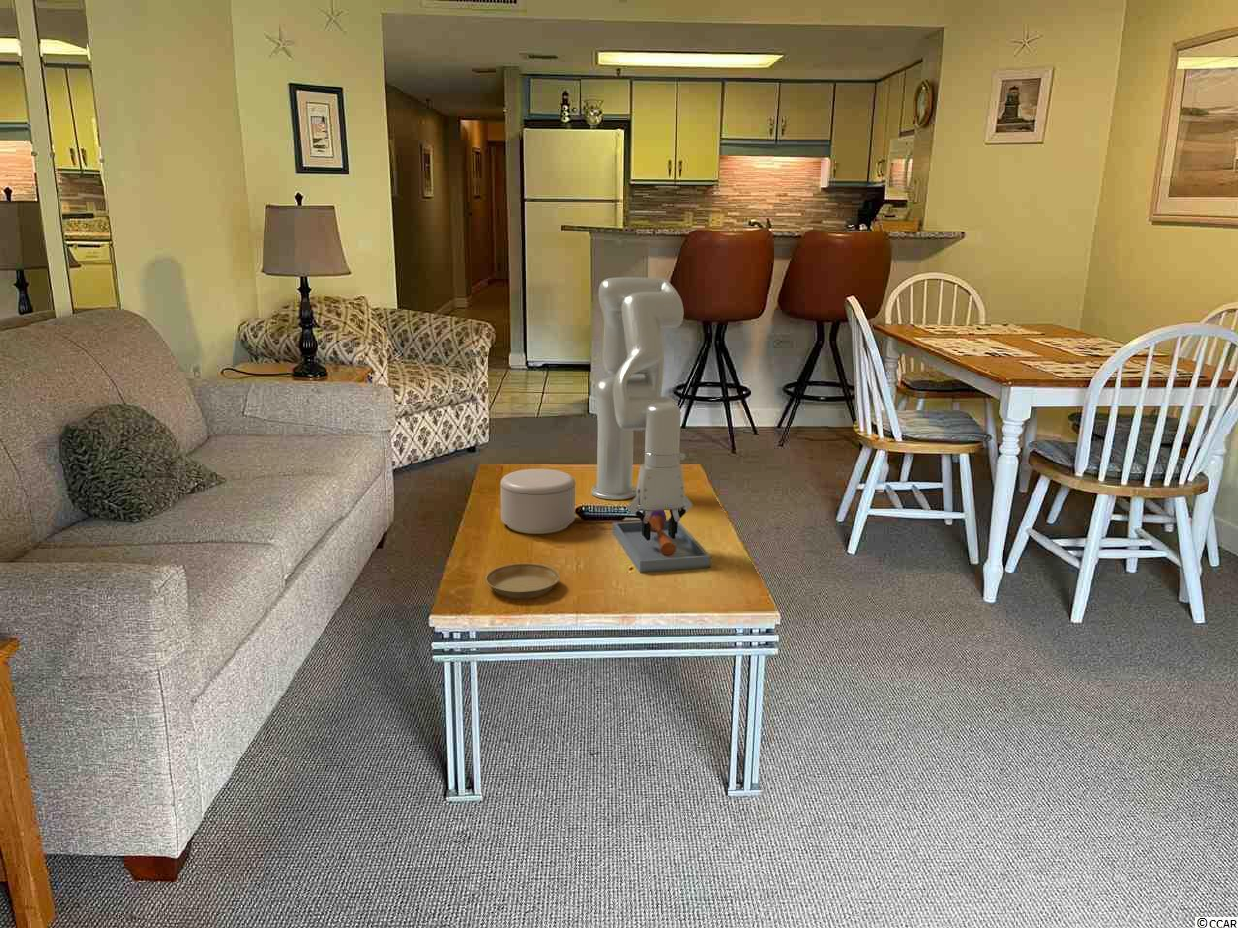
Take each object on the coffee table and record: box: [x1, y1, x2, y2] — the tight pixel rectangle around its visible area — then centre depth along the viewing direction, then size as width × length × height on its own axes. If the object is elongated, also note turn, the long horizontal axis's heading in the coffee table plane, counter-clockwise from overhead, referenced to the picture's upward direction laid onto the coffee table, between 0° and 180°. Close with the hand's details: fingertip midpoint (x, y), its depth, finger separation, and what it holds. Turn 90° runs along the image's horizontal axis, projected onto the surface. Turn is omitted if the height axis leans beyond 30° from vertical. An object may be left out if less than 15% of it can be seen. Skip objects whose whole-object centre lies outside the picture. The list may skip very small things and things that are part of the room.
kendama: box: [640, 510, 676, 557], centre depth 207 cm, size 6×6×20 cm
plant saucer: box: [485, 563, 561, 600], centre depth 186 cm, size 15×15×3 cm
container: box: [499, 468, 576, 535], centre depth 223 cm, size 18×18×12 cm
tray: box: [611, 518, 712, 574], centre depth 208 cm, size 26×16×3 cm, turn 13°
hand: (659, 536), depth 208 cm, fingers closed on kendama, 5 cm apart
